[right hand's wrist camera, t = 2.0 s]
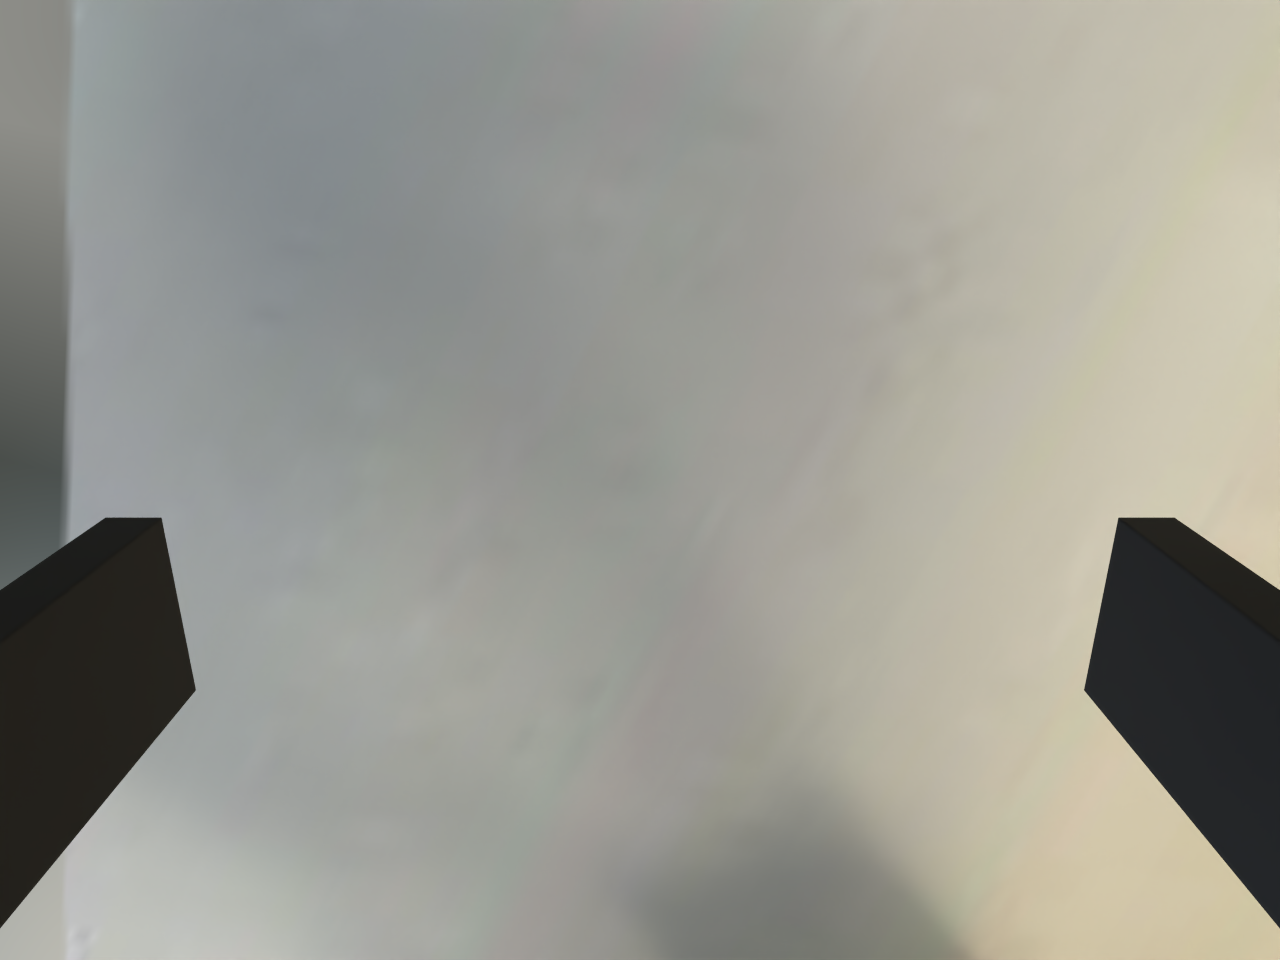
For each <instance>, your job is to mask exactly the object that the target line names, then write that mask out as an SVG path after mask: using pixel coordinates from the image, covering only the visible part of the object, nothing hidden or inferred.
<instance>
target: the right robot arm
mask: <svg viewBox="0 0 1280 960" xmlns="http://www.w3.org/2000/svg"><path fill="white" fill-rule="evenodd" d="M195 691H196V689H195V684H194V679H193V674H192V669H191V664H190V659H189V653H188V648H187V643H186V638H185V633H184V628H183V623H182V618H181V613H180V608H179V603H178V598H177V593H176V588H175V583H174V578H173V573H172V568H171V563H170V558H169V553H168V548H167V543H166V538H165V533H164V528H163V523H162V518H104V519H103V520H102V521H100V522H99V523H97V524H96V525H94V526H93V527H91V528H90V529H89V530H87V531H86V532H84V533H83V534H81V535H80V536H78V537H77V538H75V539H74V540H73V541H71V542H70V543H68V544H67V545H65V546H64V547H62V548H61V549H59V550H58V551H57V552H55V553H54V554H52V555H51V556H49V557H48V558H46V559H45V560H44V561H42V562H41V563H39V564H38V565H36V566H35V567H33V568H32V569H30V570H29V571H28V572H26V573H25V574H23V575H22V576H20V577H19V578H17V579H16V580H15V581H13V582H12V583H10V584H9V585H7V586H6V587H4V588H3V589H1V590H0V928H1V927H2V925H3V924H4V923H5V922H6V921H7V919H8V918H9V917H10V916H11V914H12V913H13V912H14V911H15V910H16V908H17V907H18V906H19V905H20V904H21V902H22V901H23V900H24V899H25V897H26V896H27V895H28V894H29V893H30V891H31V890H32V889H33V888H34V886H35V885H36V884H37V883H38V882H39V880H40V879H41V878H42V877H43V876H44V874H45V873H46V872H47V871H48V869H49V868H50V867H51V866H52V865H53V863H54V862H55V861H56V860H57V858H58V857H59V856H60V855H61V854H62V852H63V851H64V850H65V849H66V848H67V846H68V845H69V844H70V843H71V841H72V840H73V839H74V838H75V837H76V835H77V834H78V833H79V832H80V830H81V829H82V828H83V827H84V826H85V824H86V823H87V822H88V821H89V820H90V818H91V817H92V816H93V815H94V813H95V812H96V811H97V810H98V809H99V807H100V806H101V805H102V804H103V802H104V801H105V800H106V799H107V798H108V796H109V795H110V794H111V793H112V792H113V790H114V789H115V788H116V787H117V785H118V784H119V783H120V782H121V781H122V779H123V778H124V777H125V776H126V775H127V773H128V772H129V771H130V770H131V768H132V767H133V766H134V765H135V764H136V762H137V761H138V760H139V759H140V757H141V756H142V755H143V754H144V753H145V751H146V750H147V749H148V748H149V747H150V745H151V744H152V743H153V742H154V740H155V739H156V738H157V737H158V736H159V734H160V733H161V732H162V731H163V729H164V728H165V727H166V726H167V725H168V723H169V722H170V721H171V720H172V719H173V717H174V716H175V715H176V714H177V712H178V711H179V710H180V709H181V708H182V706H183V705H184V704H185V703H186V701H187V700H188V699H189V698H190V697H191V695H192V694H193V693H194V692H195ZM1084 691H1085V692H1086V693H1087V694H1088V695H1089V697H1090V698H1091V699H1092V700H1093V701H1094V703H1095V704H1096V705H1097V706H1098V708H1099V709H1100V710H1101V711H1102V712H1103V714H1104V715H1105V716H1106V717H1107V719H1108V720H1109V721H1110V722H1111V723H1112V725H1113V726H1114V727H1115V728H1116V729H1117V731H1118V732H1119V733H1120V734H1121V736H1122V737H1123V738H1124V739H1125V740H1126V742H1127V743H1128V744H1129V745H1130V747H1131V748H1132V749H1133V750H1134V751H1135V753H1136V754H1137V755H1138V756H1139V757H1140V759H1141V760H1142V761H1143V762H1144V764H1145V765H1146V766H1147V767H1148V768H1149V770H1150V771H1151V772H1152V773H1153V775H1154V776H1155V777H1156V778H1157V779H1158V781H1159V782H1160V783H1161V784H1162V785H1163V787H1164V788H1165V789H1166V790H1167V792H1168V793H1169V794H1170V795H1171V796H1172V798H1173V799H1174V800H1175V801H1176V802H1177V804H1178V805H1179V806H1180V807H1181V809H1182V810H1183V811H1184V812H1185V813H1186V815H1187V816H1188V817H1189V818H1190V820H1191V821H1192V822H1193V823H1194V824H1195V826H1196V827H1197V828H1198V829H1199V830H1200V832H1201V833H1202V834H1203V835H1204V837H1205V838H1206V839H1207V840H1208V841H1209V843H1210V844H1211V845H1212V846H1213V848H1214V849H1215V850H1216V851H1217V852H1218V854H1219V855H1220V856H1221V857H1222V858H1223V860H1224V861H1225V862H1226V863H1227V865H1228V866H1229V867H1230V868H1231V869H1232V871H1233V872H1234V873H1235V874H1236V876H1237V877H1238V878H1239V879H1240V880H1241V882H1242V883H1243V884H1244V885H1245V886H1246V888H1247V889H1248V890H1249V891H1250V893H1251V894H1252V895H1253V896H1254V897H1255V899H1256V900H1257V901H1258V902H1259V904H1260V905H1261V906H1262V907H1263V908H1264V910H1265V911H1266V912H1267V913H1268V914H1269V916H1270V917H1271V918H1272V919H1273V921H1274V922H1275V923H1276V924H1277V925H1278V927H1279V928H1280V590H1279V589H1277V588H1276V587H1274V586H1273V585H1271V584H1270V583H1268V582H1267V581H1266V580H1264V579H1263V578H1261V577H1260V576H1258V575H1257V574H1255V573H1254V572H1252V571H1251V570H1250V569H1248V568H1247V567H1245V566H1244V565H1242V564H1241V563H1239V562H1238V561H1236V560H1235V559H1234V558H1232V557H1231V556H1229V555H1228V554H1226V553H1225V552H1223V551H1222V550H1221V549H1219V548H1218V547H1216V546H1215V545H1213V544H1212V543H1210V542H1209V541H1207V540H1206V539H1205V538H1203V537H1202V536H1200V535H1199V534H1197V533H1196V532H1194V531H1193V530H1191V529H1190V528H1189V527H1187V526H1186V525H1184V524H1183V523H1181V522H1180V521H1178V520H1177V519H1176V518H1118V523H1117V528H1116V533H1115V538H1114V543H1113V548H1112V553H1111V558H1110V563H1109V568H1108V573H1107V578H1106V583H1105V588H1104V593H1103V598H1102V603H1101V608H1100V613H1099V618H1098V623H1097V628H1096V633H1095V638H1094V643H1093V648H1092V653H1091V659H1090V664H1089V669H1088V674H1087V679H1086V684H1085V689H1084Z"/></svg>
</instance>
